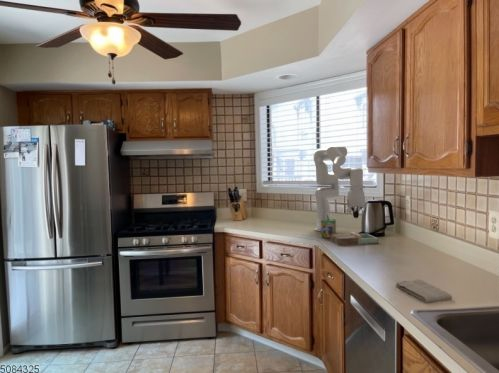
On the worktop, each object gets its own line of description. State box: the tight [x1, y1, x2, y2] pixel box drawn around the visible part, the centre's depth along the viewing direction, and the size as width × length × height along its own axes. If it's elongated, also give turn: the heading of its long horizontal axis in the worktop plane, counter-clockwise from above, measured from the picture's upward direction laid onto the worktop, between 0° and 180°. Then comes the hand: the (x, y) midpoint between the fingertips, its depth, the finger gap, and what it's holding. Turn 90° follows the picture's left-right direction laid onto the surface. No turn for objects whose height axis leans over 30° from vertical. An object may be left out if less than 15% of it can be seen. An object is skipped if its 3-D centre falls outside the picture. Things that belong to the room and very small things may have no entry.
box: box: [357, 233, 379, 245], centre depth 218 cm, size 15×13×3 cm
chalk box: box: [321, 215, 337, 239], centre depth 233 cm, size 9×9×15 cm
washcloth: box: [395, 279, 453, 304], centre depth 132 cm, size 12×18×3 cm, turn 14°
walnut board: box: [329, 232, 359, 246], centre depth 216 cm, size 15×12×4 cm
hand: (355, 217), depth 214 cm, fingers closed
